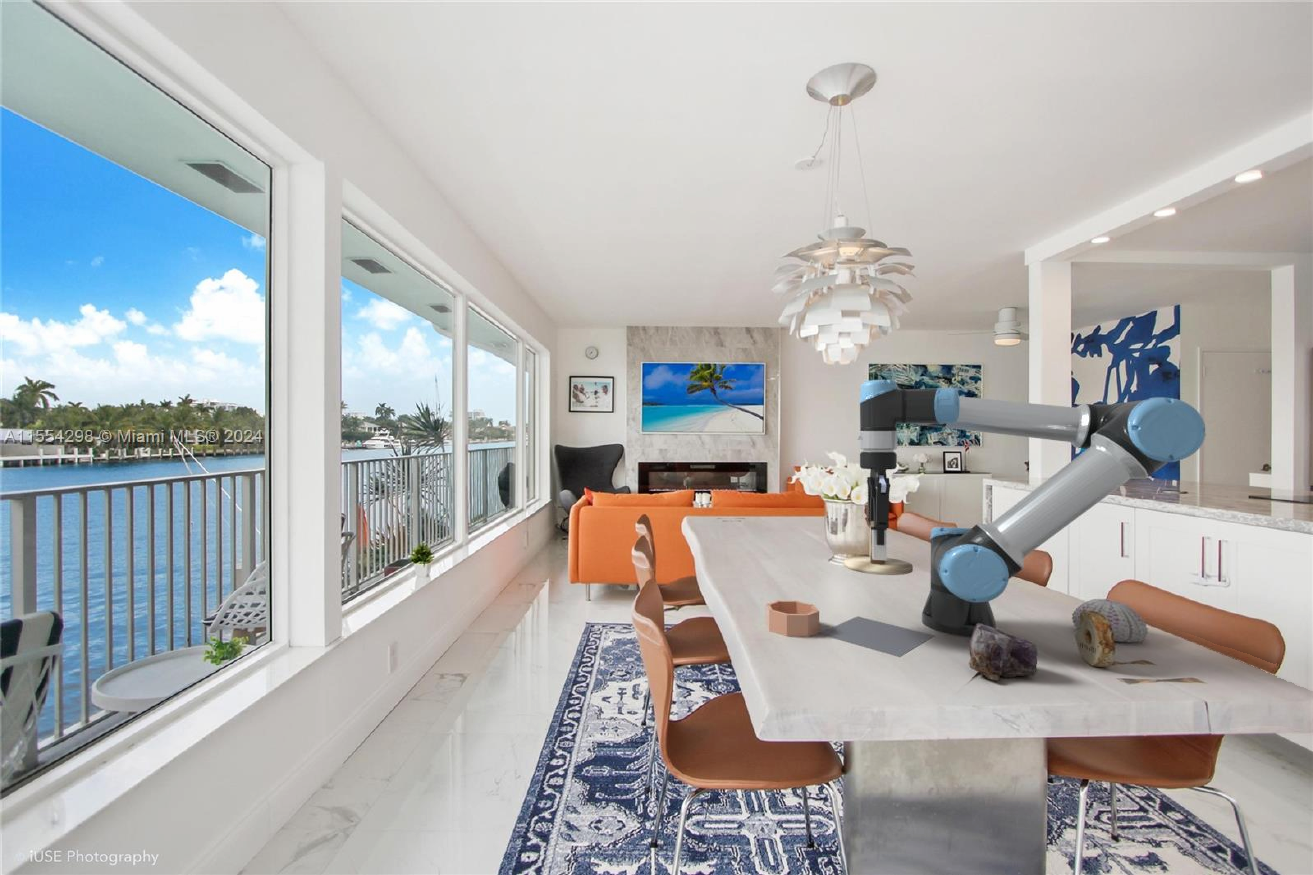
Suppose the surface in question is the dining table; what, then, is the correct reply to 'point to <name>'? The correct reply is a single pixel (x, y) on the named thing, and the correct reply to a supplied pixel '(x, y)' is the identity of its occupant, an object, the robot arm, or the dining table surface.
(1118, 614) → the sea urchin shell
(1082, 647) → the stone disc
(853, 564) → the oak lid
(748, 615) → the dining table surface
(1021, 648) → the rock
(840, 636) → the rubber mat
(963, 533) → the robot arm
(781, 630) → the terracotta bowl
